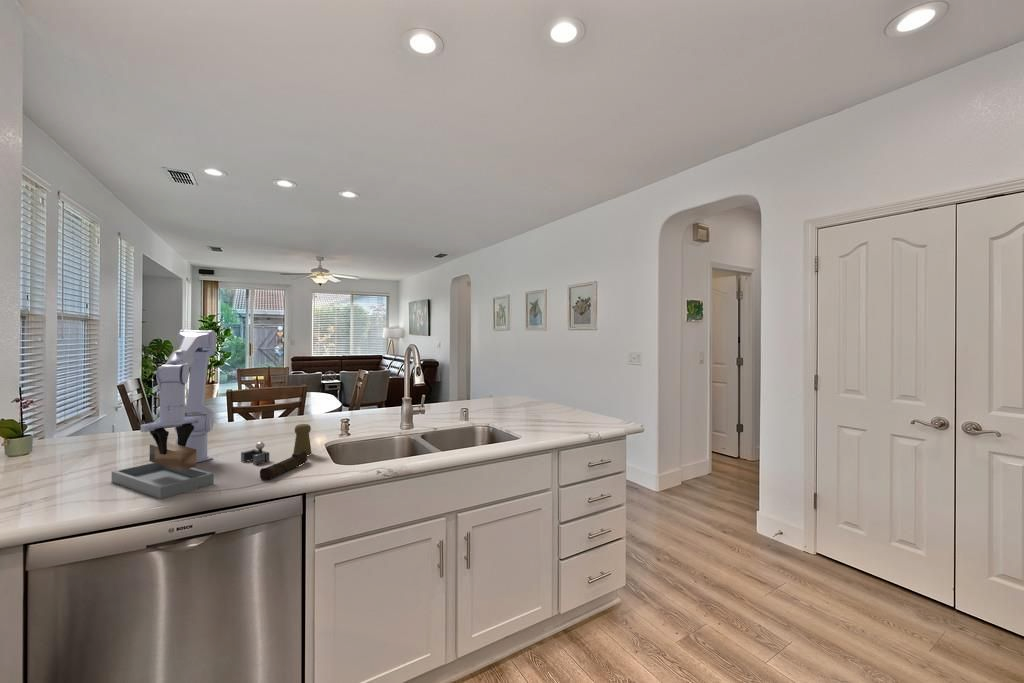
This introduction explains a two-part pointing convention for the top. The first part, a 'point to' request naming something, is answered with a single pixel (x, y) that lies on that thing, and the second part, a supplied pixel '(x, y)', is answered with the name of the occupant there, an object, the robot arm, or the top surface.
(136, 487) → the tray
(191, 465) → the strut
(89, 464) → the top surface
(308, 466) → the top surface
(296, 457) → the hand tool
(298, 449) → the olive bottle
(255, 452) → the stud bracket
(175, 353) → the robot arm
